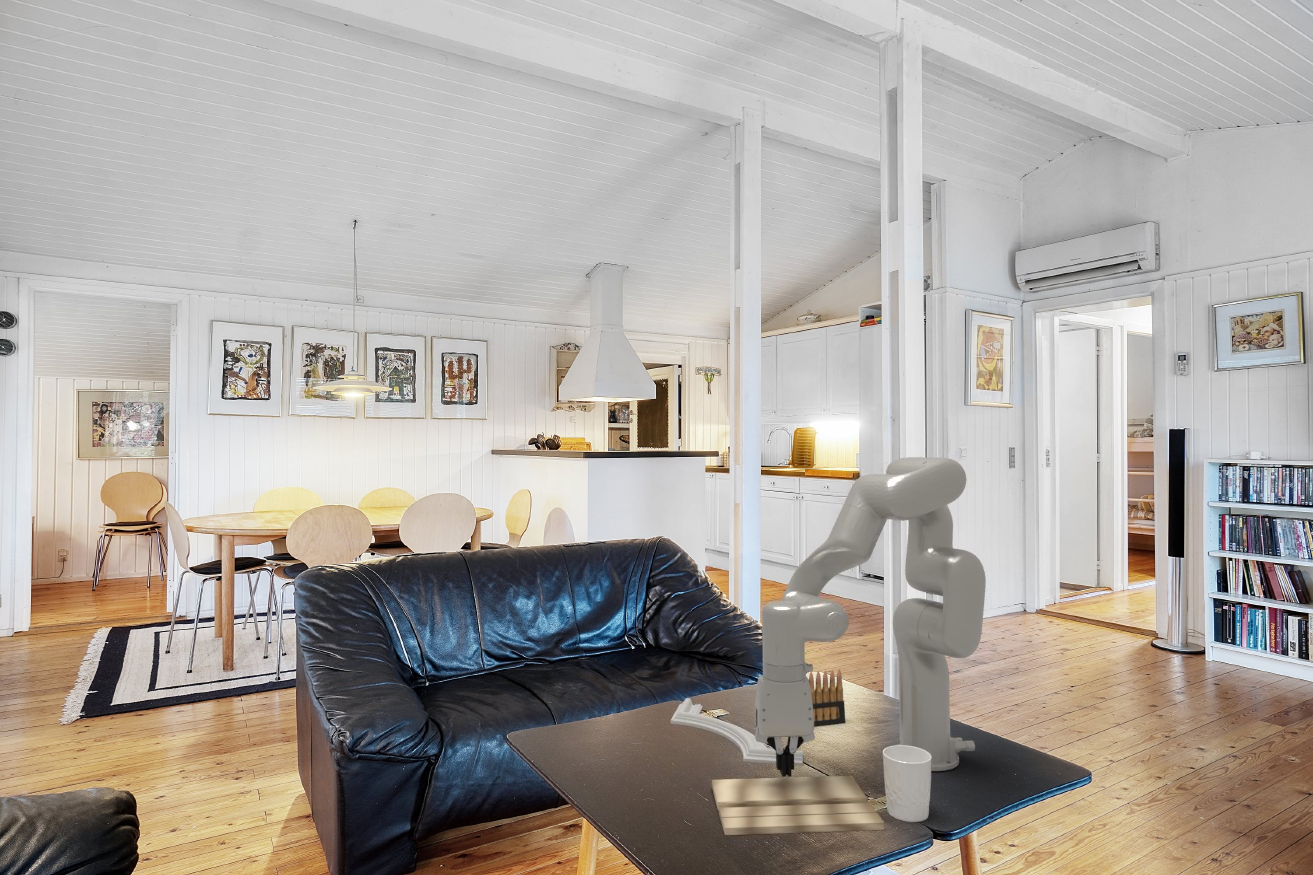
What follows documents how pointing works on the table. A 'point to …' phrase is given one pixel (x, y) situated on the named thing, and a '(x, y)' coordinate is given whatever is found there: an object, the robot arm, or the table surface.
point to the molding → (728, 734)
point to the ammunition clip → (827, 700)
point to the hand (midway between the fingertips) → (785, 773)
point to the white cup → (907, 782)
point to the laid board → (800, 819)
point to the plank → (787, 791)
